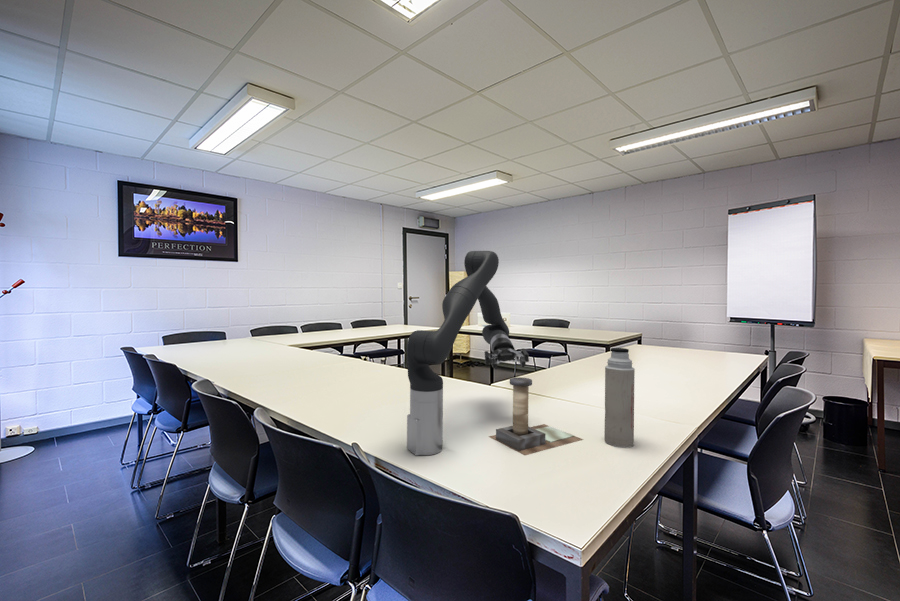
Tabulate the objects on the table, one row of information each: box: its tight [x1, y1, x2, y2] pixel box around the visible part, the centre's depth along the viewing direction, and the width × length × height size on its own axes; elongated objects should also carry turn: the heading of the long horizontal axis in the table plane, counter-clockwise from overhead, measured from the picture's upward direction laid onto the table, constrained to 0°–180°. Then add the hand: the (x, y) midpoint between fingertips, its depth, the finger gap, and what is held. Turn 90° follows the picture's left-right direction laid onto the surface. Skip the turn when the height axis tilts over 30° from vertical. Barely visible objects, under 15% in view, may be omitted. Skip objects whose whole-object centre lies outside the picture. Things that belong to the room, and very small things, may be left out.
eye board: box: [488, 423, 584, 456], centre depth 115 cm, size 23×16×4 cm
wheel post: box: [509, 376, 533, 436], centre depth 112 cm, size 6×6×18 cm
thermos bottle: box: [603, 347, 636, 448], centre depth 114 cm, size 8×8×28 cm
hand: (509, 365), depth 121 cm, fingers open, 8 cm apart
